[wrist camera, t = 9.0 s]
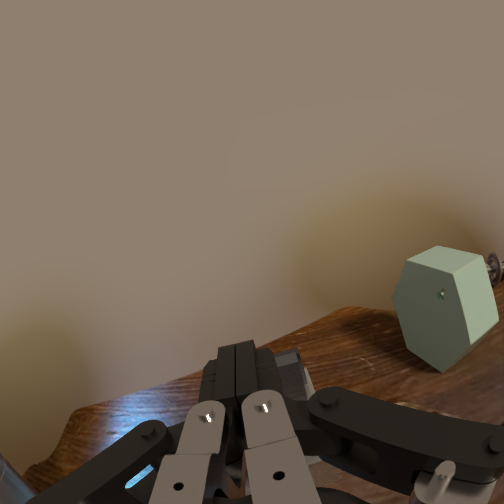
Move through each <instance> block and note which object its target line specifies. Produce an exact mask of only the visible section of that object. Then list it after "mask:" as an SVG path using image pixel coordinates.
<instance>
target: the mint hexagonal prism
mask: <svg viewBox="0 0 504 504" xmlns="http://www.w3.org/2000/svg"><path fill="white" fill-rule="evenodd" d="M444 289H445V293H443V291H444ZM392 300H393V303H394V306H395V309H396V313H397V316H398V319H399V323H400V326H401V329H402V333H403V336H404V340H405V344H406V347H407V349H408V350H410V351H411V352H413V353H414V354H415V355H417V356H418V357H420V358H421V359H423V360H424V361H425V362H427V363H428V364H430V365H431V366H433V367H434V368H436V369H437V370H438V371H440V372H441V373H443V372H445V371H446V370H448V369H449V368H450V367H452V366H453V365H454V364H456V363H457V362H458V361H459V360H461V359H462V358H463V357H464V356H466V355H467V354H468V353H469V352H471V351H472V350H473V349H474V348H475V347H476V346H477V345H478V344H479V343H480V341H481V340H482V339H483V338H484V337H485V336H486V335H487V334H488V333H489V332H490V331H491V329H492V328H493V327H494V326H495V325H496V324H497V323H498V321H499V317H498V312H497V307H496V303H495V299H494V294H493V290H492V287H491V283H490V279H489V275H488V272H487V269H486V265H485V262H484V259H483V256H481V255H478V254H473V253H469V252H465V251H460V250H456V249H451V248H446V247H442V246H435V247H433V248H431V249H429V250H427V251H425V252H423V253H420V254H418V255H416V256H414V257H412V258H409V259H407V260H406V261H405V264H404V267H403V270H402V272H401V275H400V277H399V280H398V283H397V285H396V288H395V290H394V293H393V295H392Z"/></svg>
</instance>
